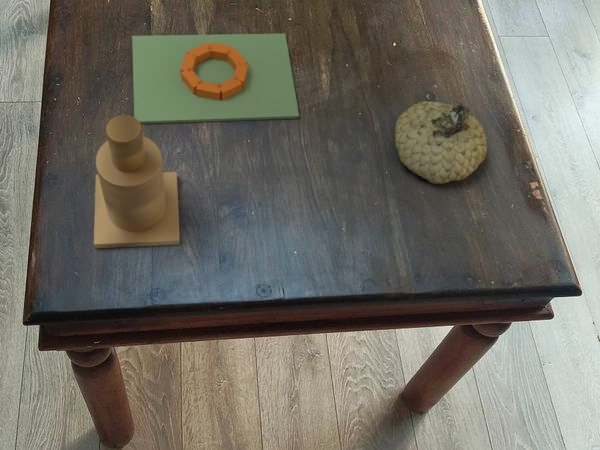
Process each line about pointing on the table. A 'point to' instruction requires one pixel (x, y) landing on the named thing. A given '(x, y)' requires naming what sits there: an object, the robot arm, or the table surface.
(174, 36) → the mat
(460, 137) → the acorn cap
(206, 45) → the ring
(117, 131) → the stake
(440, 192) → the table surface
